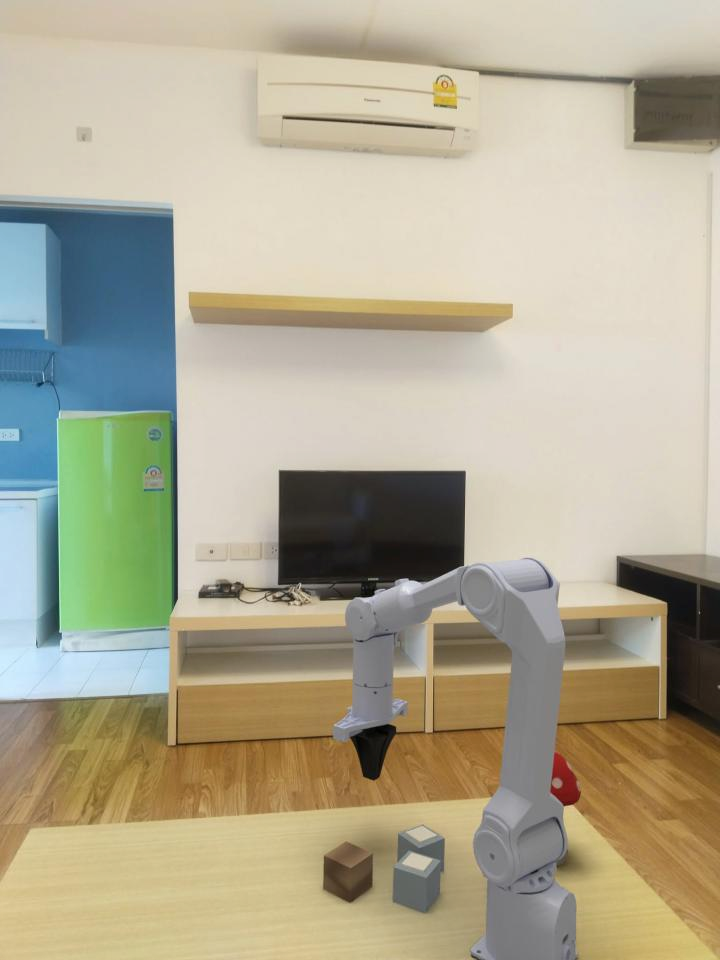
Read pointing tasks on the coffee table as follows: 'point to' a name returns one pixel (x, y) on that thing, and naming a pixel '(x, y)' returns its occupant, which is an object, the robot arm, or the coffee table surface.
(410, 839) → the labelled block
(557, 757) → the decorative mushroom
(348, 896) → the plain walnut block
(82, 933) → the coffee table surface
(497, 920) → the robot arm
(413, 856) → the labelled block
